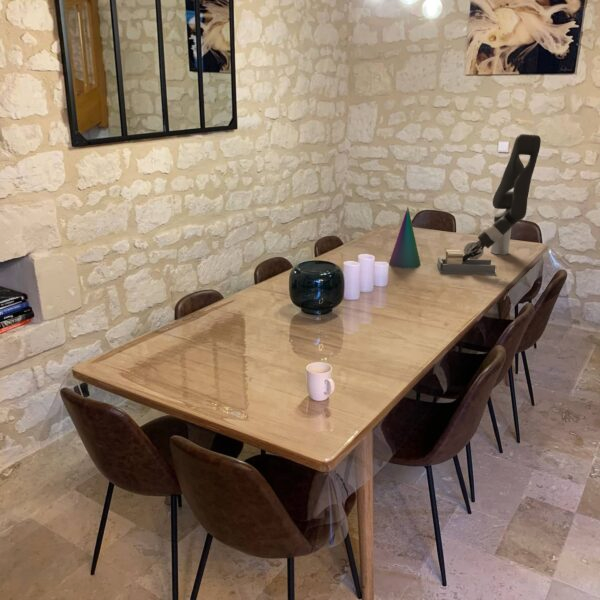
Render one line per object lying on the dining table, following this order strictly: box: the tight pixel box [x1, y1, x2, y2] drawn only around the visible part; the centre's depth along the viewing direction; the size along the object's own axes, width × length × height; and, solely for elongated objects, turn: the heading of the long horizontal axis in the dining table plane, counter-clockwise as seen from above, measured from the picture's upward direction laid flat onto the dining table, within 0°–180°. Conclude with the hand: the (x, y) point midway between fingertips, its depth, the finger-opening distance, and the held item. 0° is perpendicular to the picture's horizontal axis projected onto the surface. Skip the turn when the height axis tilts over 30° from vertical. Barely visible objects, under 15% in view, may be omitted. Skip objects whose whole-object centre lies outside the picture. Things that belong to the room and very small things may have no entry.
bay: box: [436, 256, 497, 275], centre depth 289 cm, size 14×26×5 cm, turn 85°
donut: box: [463, 240, 485, 259], centre depth 306 cm, size 10×4×10 cm, turn 76°
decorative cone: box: [388, 206, 422, 269], centre depth 296 cm, size 16×16×30 cm
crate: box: [444, 249, 464, 264], centre depth 289 cm, size 7×7×8 cm
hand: (462, 260), depth 289 cm, fingers closed
